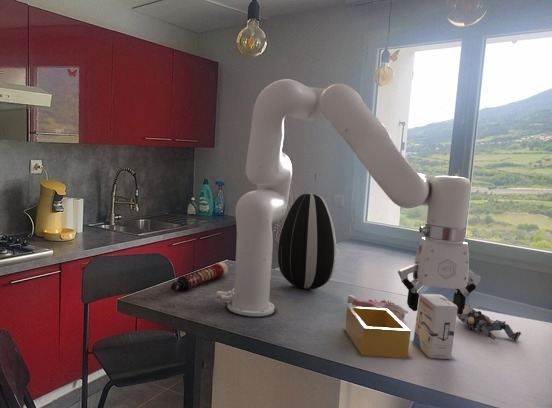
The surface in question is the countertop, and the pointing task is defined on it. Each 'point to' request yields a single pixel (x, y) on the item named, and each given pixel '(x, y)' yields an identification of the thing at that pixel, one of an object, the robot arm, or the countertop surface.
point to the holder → (377, 332)
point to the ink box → (435, 325)
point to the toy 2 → (485, 323)
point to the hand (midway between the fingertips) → (434, 310)
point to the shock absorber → (200, 276)
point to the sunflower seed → (307, 243)
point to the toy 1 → (379, 306)
